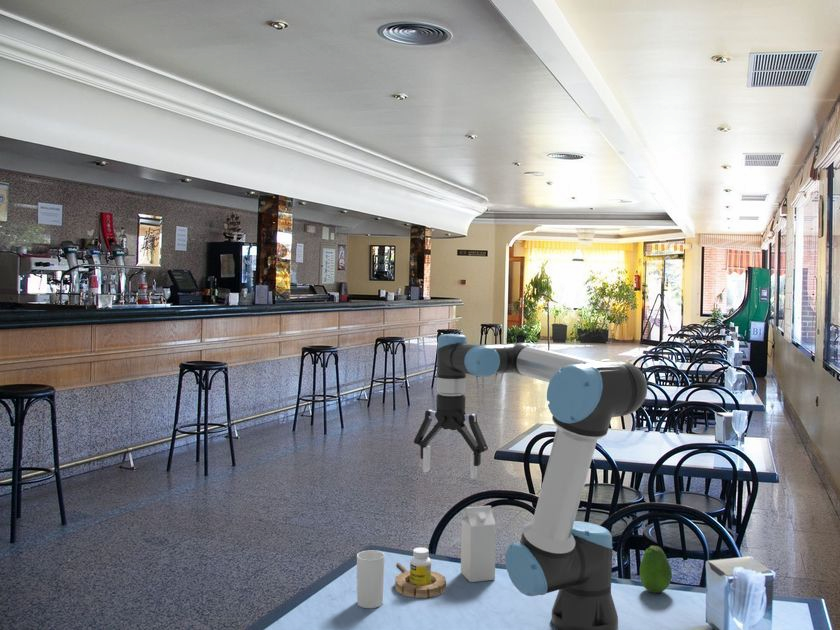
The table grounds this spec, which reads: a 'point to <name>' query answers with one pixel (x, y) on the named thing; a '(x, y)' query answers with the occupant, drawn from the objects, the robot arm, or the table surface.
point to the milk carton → (478, 544)
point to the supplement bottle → (420, 567)
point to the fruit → (655, 570)
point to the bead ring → (420, 591)
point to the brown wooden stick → (401, 567)
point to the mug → (370, 578)
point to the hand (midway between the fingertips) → (449, 474)
